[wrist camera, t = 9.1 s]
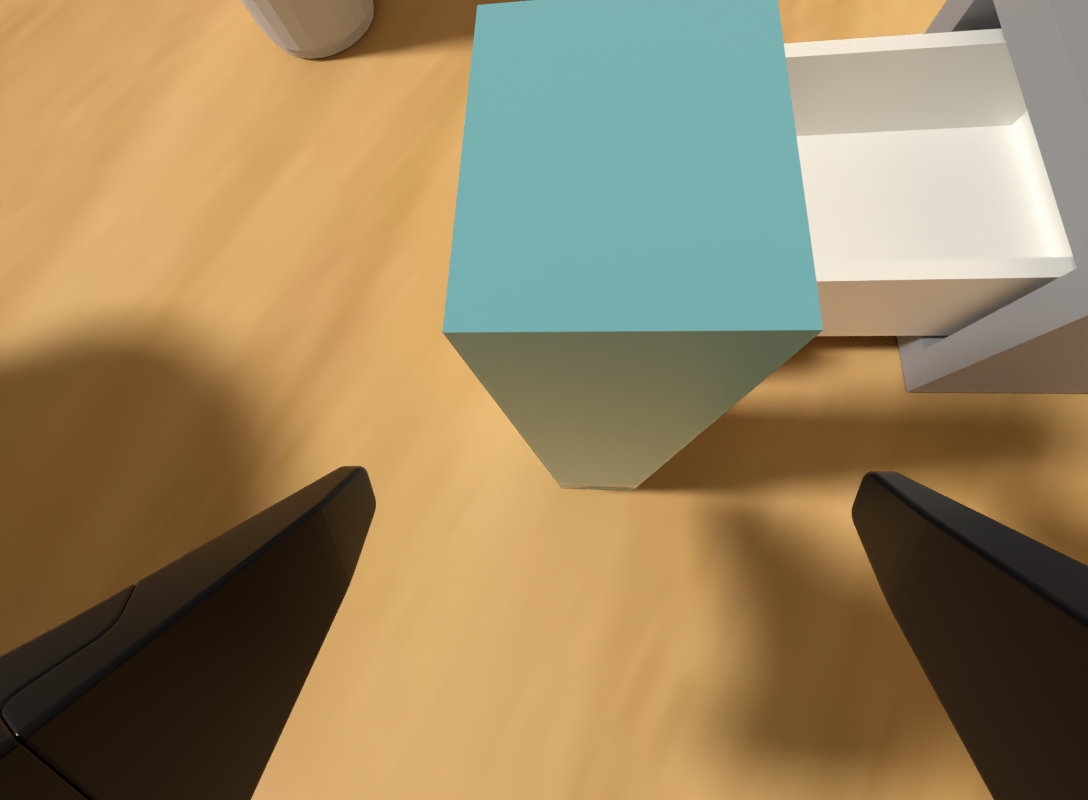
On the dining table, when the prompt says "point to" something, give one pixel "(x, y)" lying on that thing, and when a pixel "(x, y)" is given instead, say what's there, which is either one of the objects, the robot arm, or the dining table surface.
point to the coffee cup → (312, 24)
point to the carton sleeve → (1082, 199)
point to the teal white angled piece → (721, 211)
